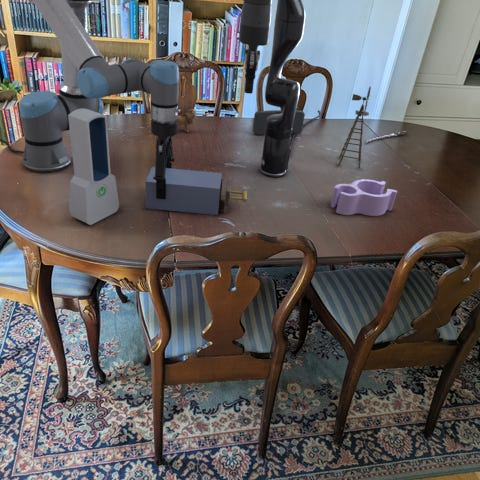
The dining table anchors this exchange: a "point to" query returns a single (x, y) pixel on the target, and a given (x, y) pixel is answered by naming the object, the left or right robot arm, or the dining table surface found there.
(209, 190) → the cabinet
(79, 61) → the left robot arm
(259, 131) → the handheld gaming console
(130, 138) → the dining table surface
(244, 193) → the drawer
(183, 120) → the lion figurine
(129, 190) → the dining table surface
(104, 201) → the electronic device
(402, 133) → the sword
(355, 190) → the clip
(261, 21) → the right robot arm
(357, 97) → the miniature windmill
